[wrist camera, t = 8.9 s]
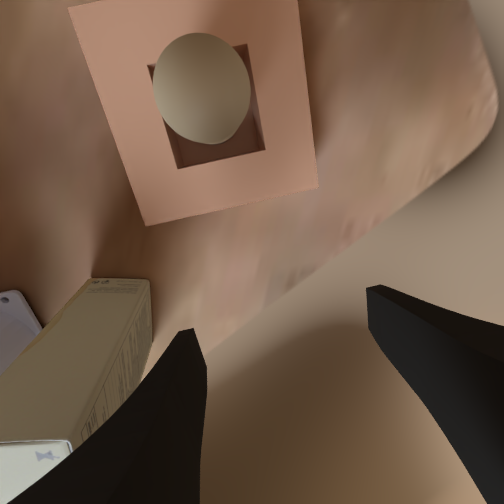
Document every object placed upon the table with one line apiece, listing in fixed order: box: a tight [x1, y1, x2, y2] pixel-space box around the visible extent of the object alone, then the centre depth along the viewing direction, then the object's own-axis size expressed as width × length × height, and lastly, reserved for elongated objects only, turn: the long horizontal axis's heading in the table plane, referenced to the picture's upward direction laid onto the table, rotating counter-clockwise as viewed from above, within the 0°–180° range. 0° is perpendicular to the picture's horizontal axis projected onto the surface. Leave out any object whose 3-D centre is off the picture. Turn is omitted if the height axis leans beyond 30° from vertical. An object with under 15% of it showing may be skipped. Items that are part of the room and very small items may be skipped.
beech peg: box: [153, 33, 251, 145], centre depth 13 cm, size 3×3×8 cm
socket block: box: [67, 0, 319, 227], centre depth 16 cm, size 10×10×4 cm
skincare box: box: [0, 278, 152, 504], centre depth 16 cm, size 6×4×12 cm
